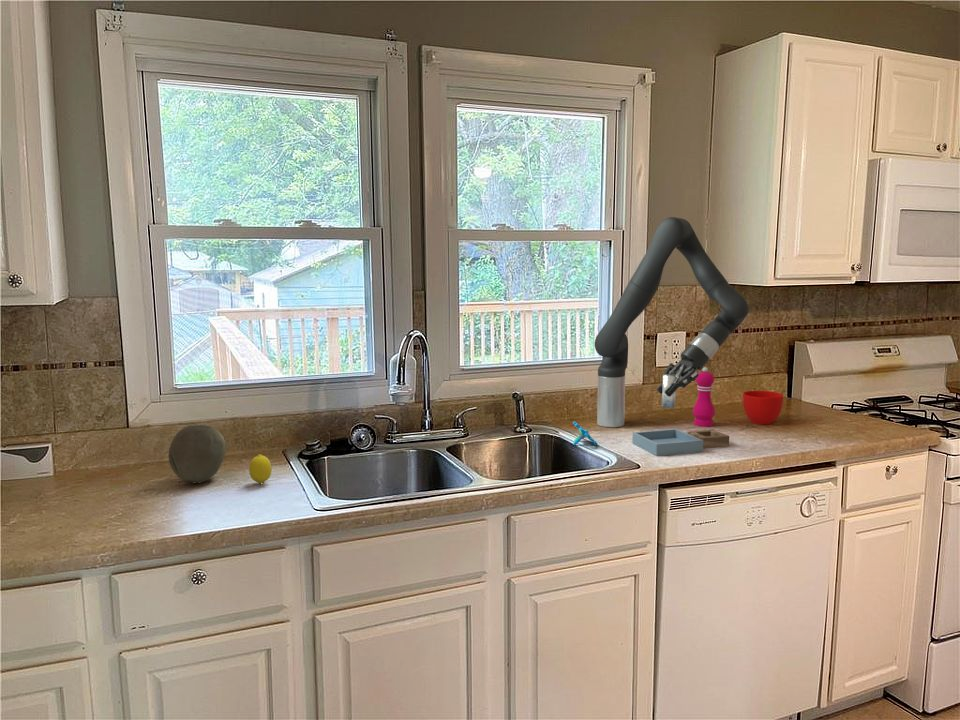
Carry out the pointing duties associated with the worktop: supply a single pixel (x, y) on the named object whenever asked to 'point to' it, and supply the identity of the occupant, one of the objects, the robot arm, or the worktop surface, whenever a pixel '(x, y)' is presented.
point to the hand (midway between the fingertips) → (663, 393)
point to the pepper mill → (704, 400)
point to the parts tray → (667, 442)
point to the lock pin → (666, 382)
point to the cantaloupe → (197, 453)
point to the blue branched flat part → (583, 435)
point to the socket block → (711, 438)
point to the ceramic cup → (762, 406)
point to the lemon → (260, 469)
